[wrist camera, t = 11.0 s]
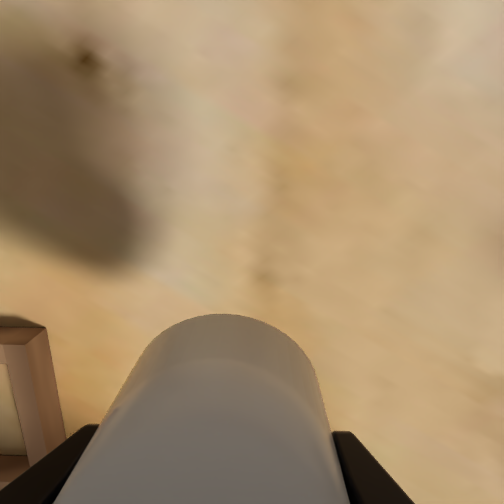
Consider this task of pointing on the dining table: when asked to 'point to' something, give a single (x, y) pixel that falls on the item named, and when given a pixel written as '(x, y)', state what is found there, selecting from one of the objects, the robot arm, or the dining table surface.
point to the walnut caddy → (31, 397)
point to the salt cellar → (213, 424)
